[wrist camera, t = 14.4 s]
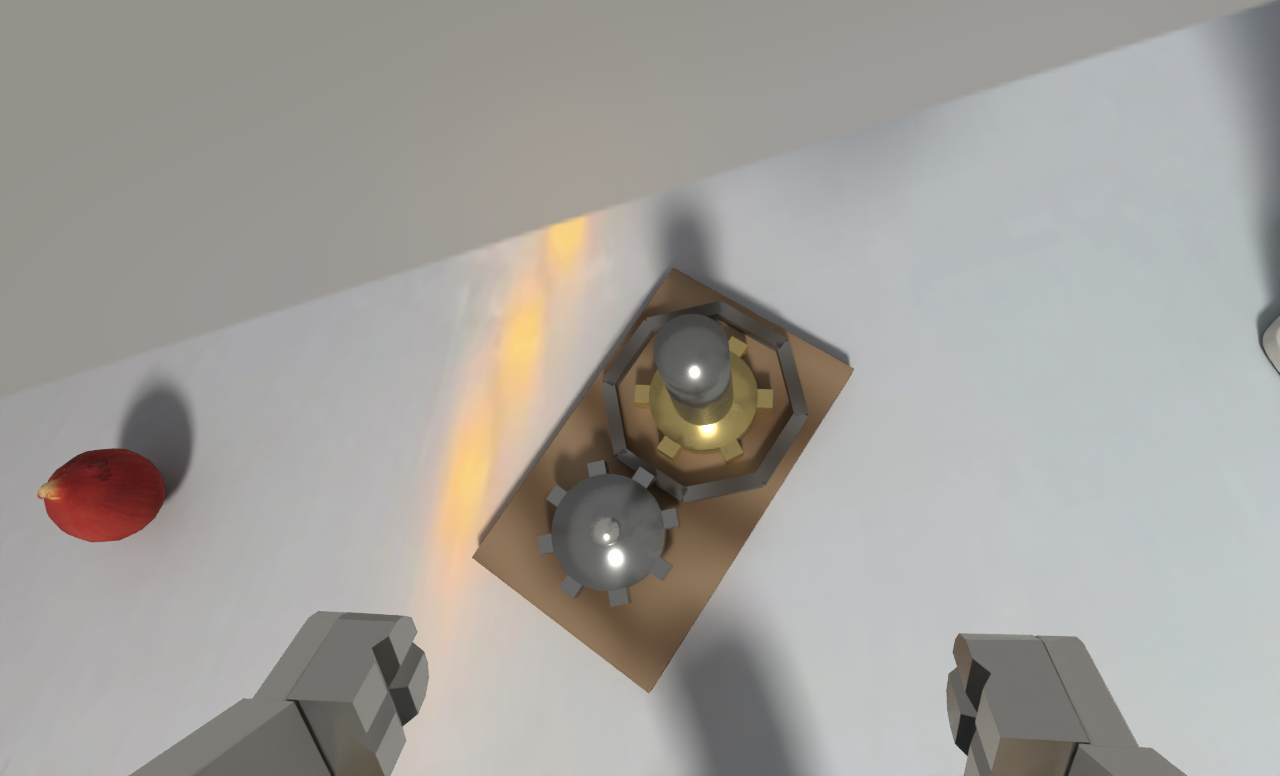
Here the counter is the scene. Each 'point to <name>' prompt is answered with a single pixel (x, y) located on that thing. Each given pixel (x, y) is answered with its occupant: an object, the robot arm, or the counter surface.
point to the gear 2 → (701, 389)
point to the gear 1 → (609, 533)
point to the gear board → (665, 481)
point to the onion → (104, 495)
